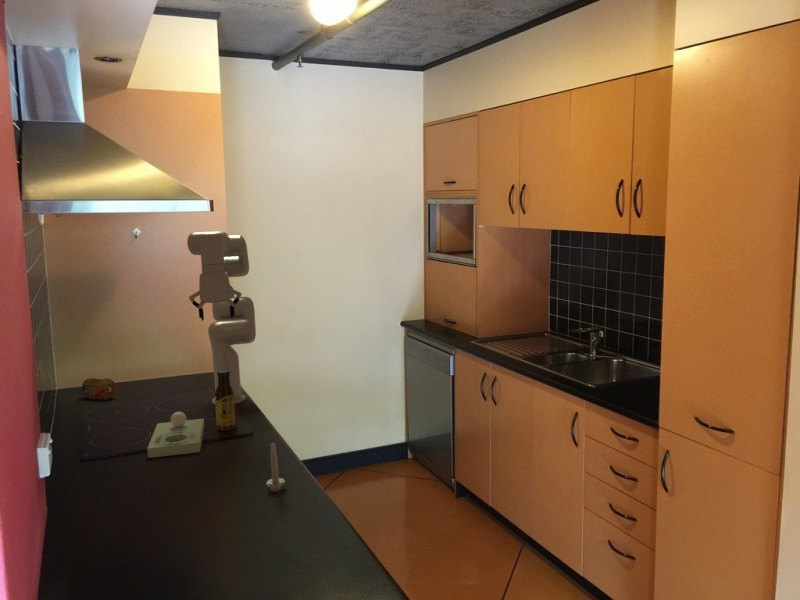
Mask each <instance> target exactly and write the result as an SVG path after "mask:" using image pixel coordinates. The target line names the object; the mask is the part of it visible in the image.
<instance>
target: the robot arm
mask: <svg viewBox="0 0 800 600" xmlns="http://www.w3.org/2000/svg"><path fill="white" fill-rule="evenodd" d="M186 243H187V245H186V246H187V248H188V251H189V252H190V254H192V255H194V256H200V262H201V273H200V274H199V280H198V281H199V282H198V283H199V285H198V286H199V290H198V291H196V292H194V293H192V294H191V295H189V296H188V298H189V299H188V300H189V301H190V302H191V303H192V305H193V306H194V307H195V308H197V309H198V316H199V317H198V319H201V321H202V322H203V321H204V320H205V318H204V306H205V304H212V307H211V308H212V310H211V311H212V316H213V319H214V321H213V322H212V323H210V324H209V326H208V328H207V329H208V330H207V332H208V338H209V342H210V346H211V351H212V352H211V353H212V363H213V378H214V387H215V388H214V389H215V391H216V388H217V387H218V376H217V372H218V371H221V370H229V371H230V375H229V380H230V385H231V388H232V390H233V393H234V404H235V405H238V404H240V403H243V402H244V401H245V400H246V398H247V397H246V395H245V394H243V393H242V389H241V388H242V385H241V375H240V374H241V373H240V372H241V371H240V360H239V354H238V352H237V351H236V350H235V349H234V347H232V346H233V345H248V344H252V343H253V342H254V341H255V339H256V334H257V333H256V329H257V328H256V316H255V315H256V311H255V305H254V302H253V300H252V298H251V297H248V296H242V292H241V291H238V290H235V289H234V287H233V286H232V285H231V284H230V279H229V278H237V277H238V278H239V277H240V278H241V277H245V276H247V275H248V274H249V271H250V262H249V253H248V245H247V242H246V240H245V237H243V236H242V235H240V234H231V235H230V234H228V233H226V232H225V231H222V230H221V231H200V232H199V231H198V232H190V233H189V235H188V236H187V241H186ZM235 295H236V296H235ZM197 297H199V299H200V300H199V301H200V302H199V303H198V302H197V301H196V300H195V298H197ZM211 403H212V404H213V405H215V397H213V398H212V400H211Z"/></svg>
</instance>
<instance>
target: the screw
mask: <svg viewBox="0 0 800 600" xmlns="http://www.w3.org/2000/svg"><path fill="white" fill-rule="evenodd" d="M276 449H277V448H276V443H275V442H271V443H270V452H269V453H270V454H269V455H270V457H269V458H270V470H271V478H270V479H268V480H267V481H266V483H265V484H266V486H267V487H269V488H270V490H271V492H276V493H277V492H279V491H281V490H282V486H283V485H285V484H286V480H285V479H284V478H282V477H280V476H279V475H280V474H279V463H278V452H277V450H276Z"/></svg>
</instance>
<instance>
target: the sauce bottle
mask: <svg viewBox="0 0 800 600" xmlns="http://www.w3.org/2000/svg"><path fill="white" fill-rule="evenodd" d="M229 375H230V371H229V370H221V371H218V372H217V376H218V387H217V388H216V390H215V393H214V395H215V404H214V405H215V423H216V430H218V431H221V432H223V431H224V432H225V431H231V430H233V429H235V427H236V408H235V406H236V404H234V393H233V390H232V388H231V385H230V380H229Z"/></svg>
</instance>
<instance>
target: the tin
mask: <svg viewBox="0 0 800 600" xmlns="http://www.w3.org/2000/svg"><path fill="white" fill-rule="evenodd" d="M81 390H82V393H83V395H84V396H85V397H86V398H88V399H90V400H103V399H104V400H109V399H112V398H113V397H114V396H115V395H116V393H117V385H116V383H115V381H114V380H113V379H112V378H106V377H105V378H103V377H90V378H86V379H85V380H84V381H83V382H82V385H81Z"/></svg>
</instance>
